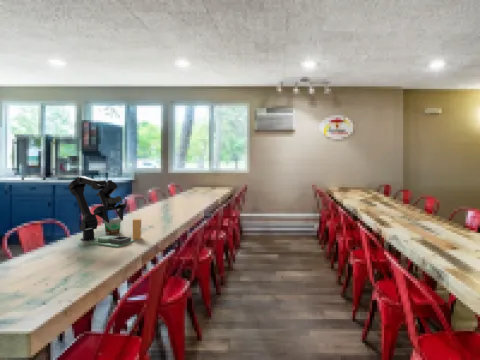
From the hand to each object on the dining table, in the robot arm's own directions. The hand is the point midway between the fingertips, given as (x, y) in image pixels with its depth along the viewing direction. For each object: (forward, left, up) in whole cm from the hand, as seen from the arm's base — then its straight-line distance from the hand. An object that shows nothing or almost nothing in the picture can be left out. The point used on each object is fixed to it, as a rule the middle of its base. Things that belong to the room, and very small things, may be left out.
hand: (115, 221), depth 184 cm
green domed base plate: (-8, +5, -15) cm, 18 cm away
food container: (-25, +22, -15) cm, 37 cm away
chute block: (-3, +20, -15) cm, 25 cm away
